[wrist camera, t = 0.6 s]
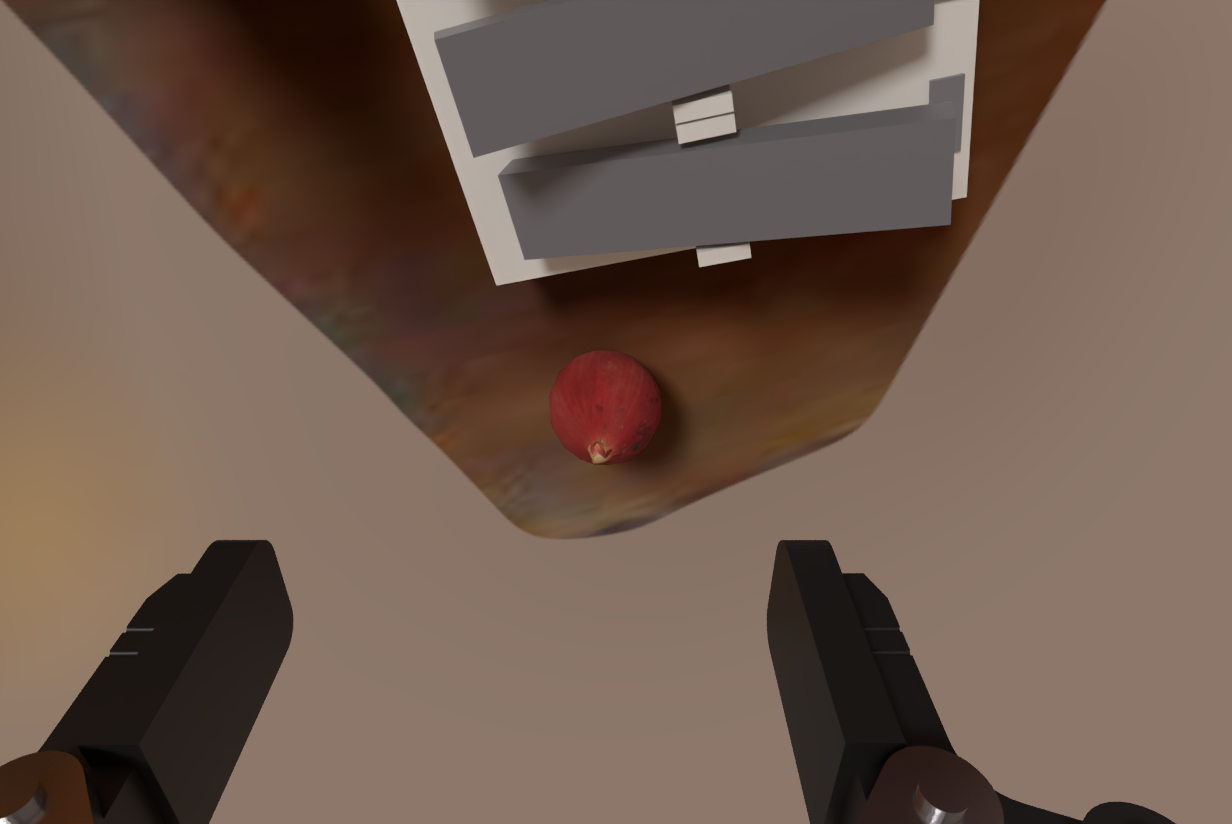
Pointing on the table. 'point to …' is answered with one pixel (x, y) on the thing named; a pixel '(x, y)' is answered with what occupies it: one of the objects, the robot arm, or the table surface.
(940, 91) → the board rack
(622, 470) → the table surface
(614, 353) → the onion
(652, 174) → the grey board
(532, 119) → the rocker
